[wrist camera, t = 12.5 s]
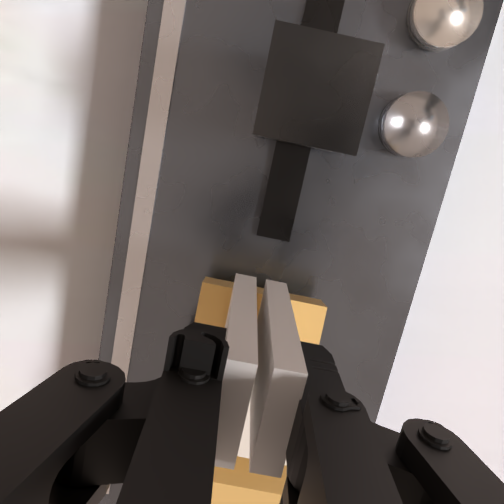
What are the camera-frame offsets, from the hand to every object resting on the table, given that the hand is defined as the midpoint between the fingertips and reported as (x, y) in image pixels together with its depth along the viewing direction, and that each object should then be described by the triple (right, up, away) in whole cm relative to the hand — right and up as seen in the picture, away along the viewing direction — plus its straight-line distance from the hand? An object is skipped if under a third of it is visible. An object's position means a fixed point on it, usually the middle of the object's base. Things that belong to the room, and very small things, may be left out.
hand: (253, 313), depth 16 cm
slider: (+2, +8, +1) cm, 8 cm away
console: (+1, +3, +5) cm, 6 cm away
